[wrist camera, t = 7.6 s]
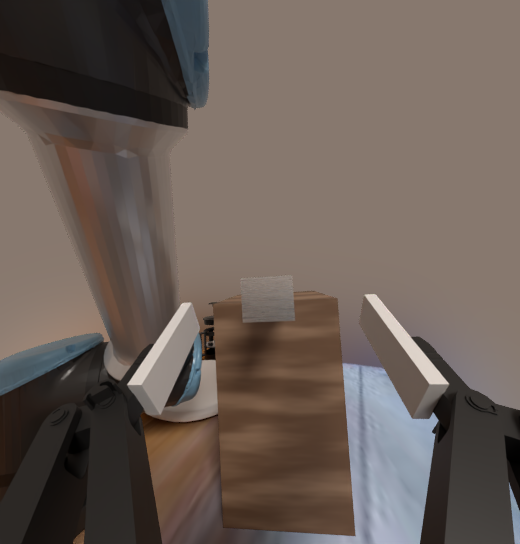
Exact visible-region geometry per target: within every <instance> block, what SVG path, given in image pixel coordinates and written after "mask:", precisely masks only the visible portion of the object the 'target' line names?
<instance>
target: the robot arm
mask: <svg viewBox="0 0 520 544" xmlns="http://www.w3.org/2000/svg"><path fill="white" fill-rule="evenodd" d="M208 19H209V18H208V0H0V112H1V113H2V114H4V115H5V116H6V117H7V118H9V119H10V120H12V121H13V122H15V123H16V124H17V125H18V126H19V127H20V128H21V129H22V130H23V131H24V132H25V133H26V134H27V135H28V138H29V140H30V143H31V145H32V147H33V150H34V152H35V155H36V157H37V160H38V162H39V165H40V167H41V169H42V172H43V174H44V177H45V180H46V182H47V184H48V187H49V189H50V192H51V194H52V197H53V199H54V202H55V204H56V206H57V209H58V212H59V214H60V216H61V219H62V221H63V224H64V226H65V229H66V231H67V234H68V236H69V239H70V241H71V244H72V246H73V248H74V251H75V254H76V256H77V258H78V261H79V263H80V266H81V268H82V271H83V273H84V276H85V278H86V281H87V283H88V286H89V288H90V291H91V293H92V296H93V298H94V300H95V303H96V305H97V308H98V310H99V313H100V315H101V318H102V320H103V323H104V325H105V328H106V330H107V333H108V335H109V337H110V341H109V342H103V341H104V338H103V337H102V335H101V334H100V333H94V334H85V335H80V336H75V337H71V338H66V339H63V340H59V341H55V342H51V343H48V344H44V345H41V346H38V347H34V348H31V349H28V350H25V351H22V352H19V353H16V354H14V355H11V356H9V357H6V358H4V359H2V360H0V544H73V540H74V538H75V537H76V536H77V535H78V534H79V533H80V532H81V531H82V530H83V529H84V528H85V536H84V544H162V540H161V533H160V527H159V521H158V515H157V509H156V503H155V497H154V491H153V485H152V479H151V473H150V467H149V461H148V454H147V448H146V442H145V436H144V430H143V424H142V419H141V417H140V415H141V414H142V413H147V415H161V413H162V411H163V408H165V407H169V406H172V407H174V406H177V405H179V404H180V403H182V402H186V401H189V400H191V399H193V398H194V397H195V396H196V394H197V392H198V390H199V386H200V381H201V366H202V347H201V339H200V335H199V333H198V332H199V330H200V327H199V324H198V321H197V318H196V315H195V311H194V308H193V305H192V303H182V304H181V306H180V298H179V283H178V269H177V256H176V241H175V227H174V212H173V198H172V184H171V169H170V153H171V150H172V149H173V148H174V146H176V145H177V144H178V143H179V142H180V141H181V140H182V139H183V138H184V136H186V135H187V133H188V122H187V121H188V118H187V108H188V106H189V107H192V108H194V109H196V108H200V107H204V106H205V104H206V102H207V98H208V89H209V63H208V50H207V49H208V47H209V43H208V42H209V40H208V39H209V22H208V21H209V20H208ZM359 324H360V326H361V328H362V330H363V331H364V333H365V335H366V337H367V339H368V340H369V342H370V344H371V346H372V347H373V349H374V351H375V353H376V355H377V356H378V358H379V360H380V362H381V364H382V365H383V367H384V369H385V371H386V372H387V374H388V376H389V378H390V380H391V381H392V383H393V385H394V387H395V389H396V390H397V392H398V394H399V396H400V397H401V399H402V401H403V403H404V405H405V406H406V408H407V410H408V412H409V413H410V415H411V417H412V419H429V418H430V417H431V415H432V413H433V412H434V414H435V415H436V417H437V418H438V420H439V421H438V423H437V424H436V426H435V428H434V429H433V431H432V433H434V434H435V433H436V435H435V442H434V449H433V456H432V463H431V470H430V477H429V484H428V491H427V498H426V505H425V512H424V519H423V526H422V533H421V540H420V544H515V542H514V532H513V521H512V511H511V501H510V490H509V483H510V486H511V489H512V491H513V494H514V497H515V499H516V502H517V505H518V508H519V510H520V410H516V409H513V408H509V407H505V406H502V405H498V404H495V403H494V402H493V401H492V400H490V399H489V398H488V397H487V396H485V395H483V394H481V393H479V392H478V391H474V390H472V389H470V388H469V387H468V386H467V385H466V384H465V383H464V382H463V381H462V379H461V378H460V377H459V376H458V375H457V374H456V373H455V372H454V371H453V369H452V368H451V367H450V366H449V365H448V364H447V363H446V362H445V361H444V360H443V358H442V357H441V356H440V355H439V354H438V353H437V352H436V351H435V349H434V348H433V347H432V346H431V345H430V344H429V343H427V342H426V341H425V340H423V339H422V338H420V337H410V336H409V335H408V334H407V332H406V331H405V330H404V329H403V328H402V326H401V325H400V324H399V323H398V321H397V320H396V319H395V318H394V317H393V315H392V314H391V313H390V311H389V310H388V309H387V308H386V307H385V305H384V304H383V303H382V302H381V301H380V299H379V298H378V297H377V296H376V294H370V295H364V299H363V304H362V309H361V315H360V320H359Z"/></svg>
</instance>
